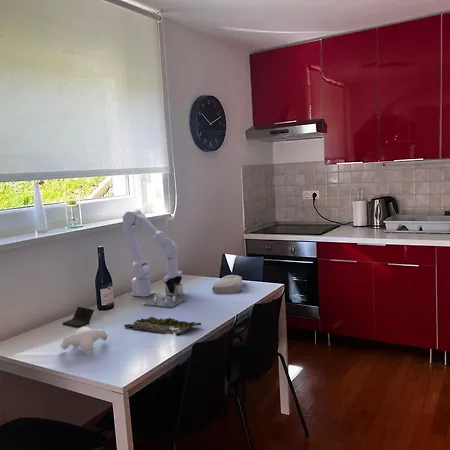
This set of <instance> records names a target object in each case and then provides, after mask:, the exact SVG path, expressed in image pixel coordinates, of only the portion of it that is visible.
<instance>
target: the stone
mask: <svg viewBox="0 0 450 450" xmlns="http://www.w3.org/2000/svg"><path fill="white" fill-rule="evenodd" d="M211 290H212V293H214V294H217V295H221V294H224V293H227V294H237V293H239V292H242V291H243V277H242V276H240V275H236V274H230V275H225V276H223V277H221V278H220V279H219V280H217V281H216V282H214V283H213V285H212V287H211Z"/></svg>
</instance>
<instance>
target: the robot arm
mask: <svg viewBox="0 0 450 450" xmlns="http://www.w3.org/2000/svg"><path fill="white" fill-rule="evenodd" d="M137 225H138V226H142V227H143V228H144V229H145V230H146V231H148V232H149V233H150V234H151V236H152V237H153V241H154V242H156V243H157V244H158V246H160V247H161V248H162V251H163V253H164V254H165V265H166V266H165V267H166V274H165V275H164V277H162V282H164V283H165V284H166V285H167V287H168V290H169V293H174V283H180V284H181V282H182V279H183V270H179V265H178V253H177V251H178V249H179V247H178V246H179V245H178V244H177V242H176V241H173V239H171V238H169V237H168V236H167V235H166V232H164V231H161V230H158V229H157V228H156V227H155V225H154V224H153V223H152V222H151V221H150V220H149V219H148V218H147V216H146V215H145V213H143V212H142V211H141V210H140V209H132V210H128V211H125V213H124V214H123V216H122V227H121V228H122V229H121V230H122V232H123V233H122V234H123V235H124V238H125V241H126V244H127V247H128V250H129V253H130V255H131V259H132V261H133V262H132V273H133V276H134V277H133V278H132V279H131V292H132V294H131V296H134V297H145V298H146V297H148V296H150V295H153V294H155V293H156V292H155V291H152V286H151V285H152V283H151V275H150V274H151V273H152V267H151V265H150V264H149V262H148V261H147V259H146V258H145V257H144V254H143V252H142V249H141V247H140V246H141V245H140V243H139V241H138V237H137V235H136V233H135V227H136V226H137ZM165 284H164V285H165Z"/></svg>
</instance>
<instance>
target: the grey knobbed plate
mask: <svg viewBox="0 0 450 450" xmlns="http://www.w3.org/2000/svg"><path fill="white" fill-rule="evenodd" d="M186 300H187V299H185V298H176V296H172V297H165V294H162V295H161V296H158V297H157V296H156V295H155V296H154V297H153V299H151V300H149V301H147V302H144V303H143V306H145V307H147V306H148V307H154V308H155V307H156V308H164V309H173V308H175V307H177V306H179V305H181V304H182V303H185V302H187V301H186ZM184 301H185V302H184Z"/></svg>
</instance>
